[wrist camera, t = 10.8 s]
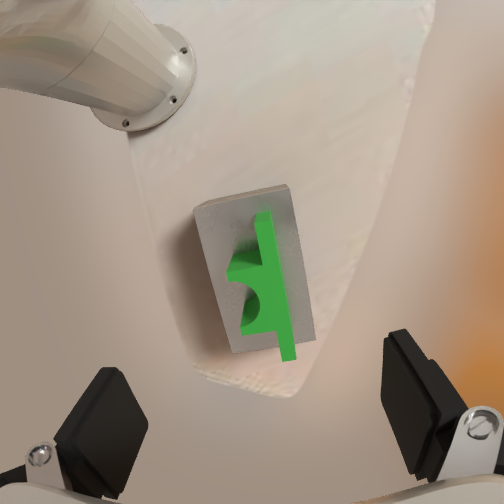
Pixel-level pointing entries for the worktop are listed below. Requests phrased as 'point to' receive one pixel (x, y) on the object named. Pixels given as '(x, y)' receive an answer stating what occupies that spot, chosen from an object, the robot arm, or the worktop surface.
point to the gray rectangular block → (244, 240)
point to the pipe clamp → (264, 288)
